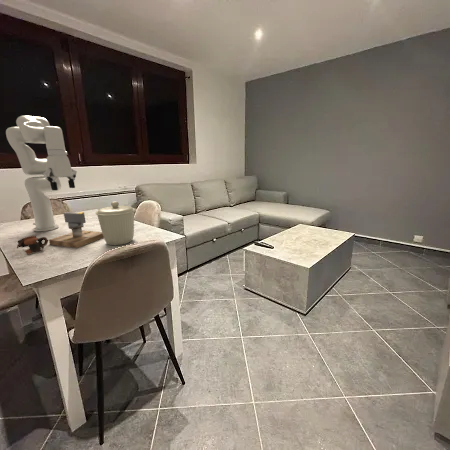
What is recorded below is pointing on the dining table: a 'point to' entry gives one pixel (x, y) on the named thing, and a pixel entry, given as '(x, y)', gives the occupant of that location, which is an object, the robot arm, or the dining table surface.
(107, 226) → the canister
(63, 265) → the dining table surface
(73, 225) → the cap
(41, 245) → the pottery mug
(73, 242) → the base
